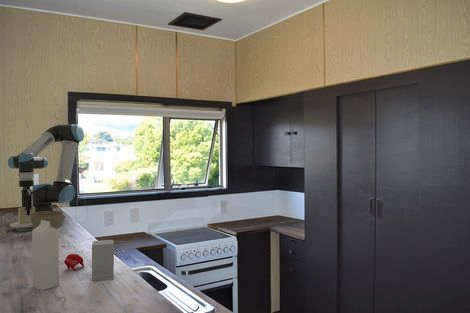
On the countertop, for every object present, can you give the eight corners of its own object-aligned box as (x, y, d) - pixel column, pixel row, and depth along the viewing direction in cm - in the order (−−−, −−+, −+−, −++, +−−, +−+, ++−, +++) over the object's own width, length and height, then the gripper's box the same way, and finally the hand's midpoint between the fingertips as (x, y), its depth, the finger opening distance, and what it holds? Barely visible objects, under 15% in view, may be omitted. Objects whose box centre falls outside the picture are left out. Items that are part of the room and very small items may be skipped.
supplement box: (113, 279, 137) (113, 243, 137) (91, 281, 135) (91, 245, 135) (114, 273, 145) (113, 239, 144) (92, 275, 142) (92, 240, 142)
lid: (6, 224, 227) (6, 207, 227) (38, 221, 238) (38, 204, 238) (13, 229, 214) (13, 210, 214) (47, 225, 225) (46, 207, 225)
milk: (50, 282, 135) (49, 218, 135) (59, 285, 132) (58, 220, 131) (32, 287, 130) (31, 221, 130) (41, 290, 127) (40, 222, 126)
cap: (69, 265, 144) (83, 253, 148) (60, 257, 147) (73, 246, 151) (76, 277, 149) (89, 266, 153) (67, 270, 152) (80, 259, 156)
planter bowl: (30, 237, 205) (30, 216, 204) (30, 231, 219) (30, 212, 219) (64, 233, 212) (63, 213, 212) (62, 228, 226) (61, 209, 226)
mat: (15, 228, 227) (15, 227, 227) (33, 226, 234) (33, 225, 234) (19, 231, 219) (19, 230, 219) (39, 228, 225) (39, 227, 225)
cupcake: (68, 224, 240) (67, 204, 240) (60, 226, 232) (60, 206, 231) (54, 223, 241) (54, 204, 241) (46, 226, 233) (46, 206, 232)
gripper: (15, 179, 230) (16, 219, 230) (23, 181, 217) (23, 223, 217) (29, 178, 234) (30, 217, 235) (37, 180, 222) (38, 221, 222)
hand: (26, 220), depth 226 cm, fingers closed on lid, 4 cm apart
